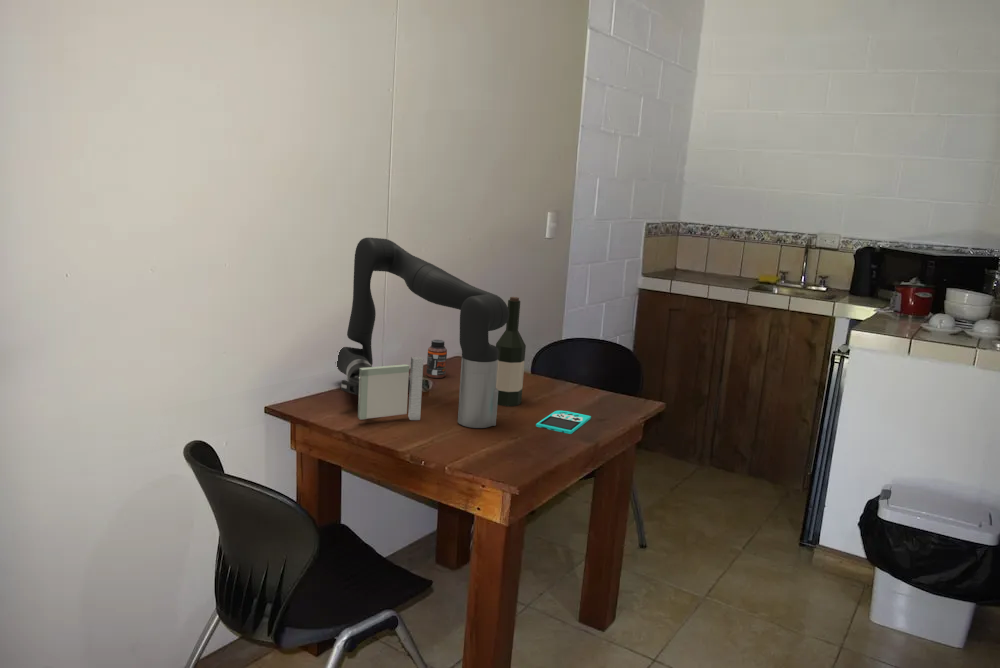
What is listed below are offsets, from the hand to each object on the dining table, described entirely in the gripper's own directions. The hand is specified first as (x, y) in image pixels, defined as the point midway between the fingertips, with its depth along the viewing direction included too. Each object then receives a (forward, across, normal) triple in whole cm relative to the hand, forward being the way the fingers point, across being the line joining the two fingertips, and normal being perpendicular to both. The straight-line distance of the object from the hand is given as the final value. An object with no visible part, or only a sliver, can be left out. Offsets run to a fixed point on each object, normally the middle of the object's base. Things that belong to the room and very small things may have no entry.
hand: (370, 395), depth 193 cm
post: (-2, +12, +7) cm, 14 cm away
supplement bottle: (-42, +26, +8) cm, 50 cm away
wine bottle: (-14, +41, +7) cm, 44 cm away
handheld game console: (+5, +51, +8) cm, 52 cm away
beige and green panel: (0, +3, +5) cm, 6 cm away
